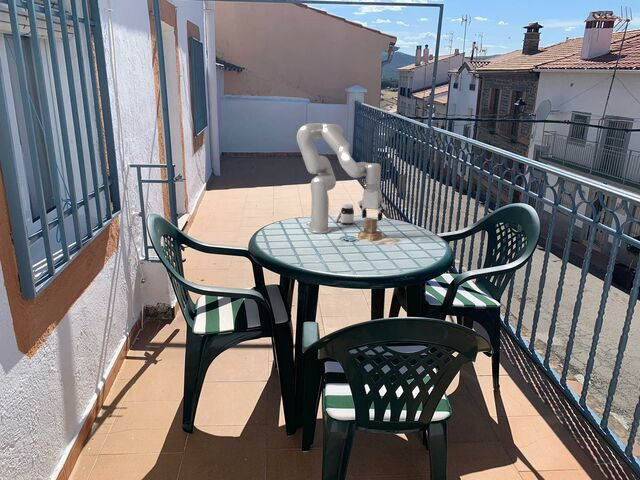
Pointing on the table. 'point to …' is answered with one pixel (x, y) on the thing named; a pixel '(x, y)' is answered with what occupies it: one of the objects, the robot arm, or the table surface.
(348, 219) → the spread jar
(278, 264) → the table surface
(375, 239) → the pocket board
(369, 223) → the walnut block
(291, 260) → the table surface
